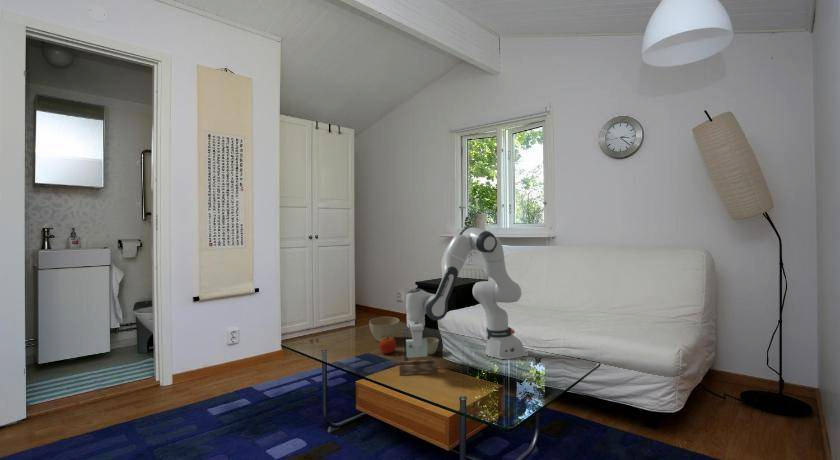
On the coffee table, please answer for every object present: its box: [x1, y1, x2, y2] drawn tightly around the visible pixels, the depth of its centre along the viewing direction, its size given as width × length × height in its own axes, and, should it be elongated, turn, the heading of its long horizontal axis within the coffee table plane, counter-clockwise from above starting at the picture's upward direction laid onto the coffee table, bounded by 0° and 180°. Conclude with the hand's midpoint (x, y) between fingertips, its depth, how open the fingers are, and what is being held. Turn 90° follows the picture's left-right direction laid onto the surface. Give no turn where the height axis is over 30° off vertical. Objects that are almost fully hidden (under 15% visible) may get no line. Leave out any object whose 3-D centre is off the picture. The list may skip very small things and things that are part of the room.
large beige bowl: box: [368, 316, 400, 343], centre depth 266 cm, size 18×18×12 cm
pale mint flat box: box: [405, 337, 429, 359], centre depth 217 cm, size 10×3×8 cm, turn 94°
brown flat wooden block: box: [398, 358, 438, 376], centre depth 218 cm, size 18×8×4 cm, turn 93°
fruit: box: [378, 335, 397, 355], centre depth 245 cm, size 10×10×10 cm
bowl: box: [422, 337, 440, 355], centre depth 242 cm, size 10×10×7 cm
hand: (416, 350), depth 217 cm, fingers closed on pale mint flat box, 3 cm apart
